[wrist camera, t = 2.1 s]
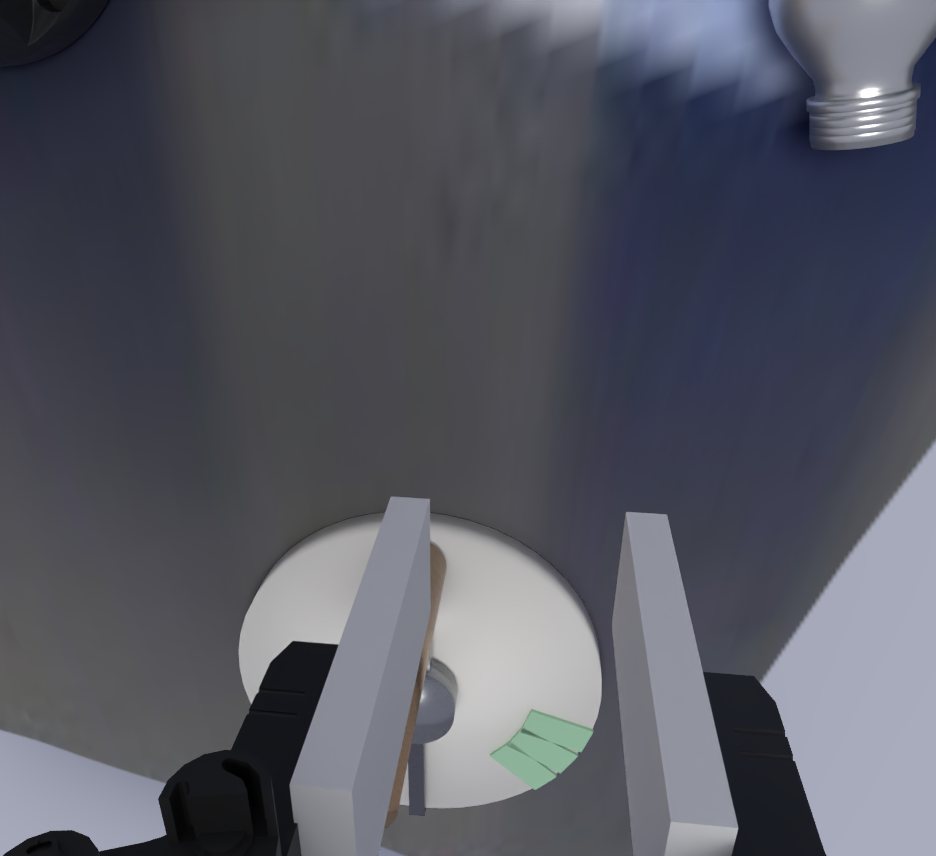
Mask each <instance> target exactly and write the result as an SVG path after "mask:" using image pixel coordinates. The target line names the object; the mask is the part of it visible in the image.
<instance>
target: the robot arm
mask: <svg viewBox="0 0 936 856" xmlns="http://www.w3.org/2000/svg"><path fill="white" fill-rule="evenodd" d="M107 2H108V0H0V67H7V66H17V65H23V64H28V63H32V62H36V61H39V60H42V59H45V58H47V57H49V56H52V55H54V54H56V53H58V52H59V51H61V50H63V49H65V48H66V47H67V46H69V45H70V44H72V43H73V42H74V41H76V40H77V39H78V38H79V37H80V36H82V35H83V34H84V33H85V32H86V31H87V30H88V29H89V28H90V26H91V25H92V24H93V23H94V22H95V20H96V19H97V18H98V16H99V15H100V13H101V12H102V11H103V9H104V8H105V6H106V4H107ZM430 612H431V590H430V499H421V498H406V497H391V498H390V500H389V503H388V506H387V509H386V512H385V515H384V517H383V520H382V523H381V526H380V529H379V532H378V535H377V537H376V540H375V543H374V546H373V549H372V552H371V554H370V557H369V560H368V563H367V566H366V569H365V571H364V574H363V577H362V580H361V583H360V586H359V589H358V591H357V594H356V597H355V600H354V603H353V606H352V608H351V611H350V614H349V617H348V620H347V623H346V625H345V628H344V631H343V634H342V637H341V640H340V643H339V644H326V643H314V642H302V641H292V642H291V643H290V644H289V645H288V646H287V647H286V648H285V649H284V650H283V651H282V652H281V653H280V654H279V655H277V656H276V657H275V658H274V659H273V660H272V661H271V662H270V664H269V667H268V669H267V671H266V673H265V675H264V678H263V680H262V682H261V684H260V687H259V692H258V693H256V695H255V698H254V700H253V702H252V704H251V707H250V709H249V714H248V715H247V716H246V718H245V720H244V722H243V724H242V727H241V729H240V731H239V733H238V736H237V738H236V740H235V742H234V744H233V747H232V749H231V750H223V751H218V752H213V753H209V754H204V755H202V756H200V757H198V758H197V759H195V760H193V761H191V762H189V763H187V764H185V765H184V766H183V767H181V768H180V769H179V770H178V771H177V772H176V773H175V774H174V775H173V776H172V777H171V778H170V779H169V780H168V781H167V783H166V785H165V787H164V789H163V791H162V793H161V795H160V796H159V799H158V800H159V804H160V808H161V812H162V817H163V821H164V825H165V829H166V834H167V835H165V836H163V837H161V838H157V839H154V840H151V841H147V842H144V843H139V844H134V845H129V846H124V847H119V848H115V849H109V850H105V851H100V852H99V851H98V849H97V848H96V847H95V845H94V844H93V842H92V841H91V840H90V838H89V837H87V836H85V835H83V834H80V833H78V832H75V831H72V830H70V831H69V830H67V831H49V832H47V833H44V834H41V835H38V836H35V837H32V838H29V839H27V840H25V841H24V842H22V843H21V844H19V845H17V846H16V847H14V848H13V849H11V850H10V851H8V852H7V853H5V854H4V855H3V856H378V854H379V849H380V845H381V840H382V835H383V831H384V826H385V821H386V817H387V812H388V807H389V803H390V798H391V793H392V789H393V784H394V779H395V775H396V770H397V765H398V761H399V756H400V752H401V747H402V742H403V738H404V733H405V728H406V724H407V719H408V714H409V710H410V705H411V700H412V696H413V691H414V686H415V682H416V677H417V672H418V668H419V663H420V658H421V654H422V649H423V644H424V640H425V635H426V630H427V626H428V621H429V616H430ZM612 631H613V642H614V652H615V663H616V674H617V684H618V695H619V705H620V716H621V727H622V737H623V748H624V758H625V769H626V780H627V790H628V801H629V811H630V822H631V833H632V843H633V854H634V856H826V854H825V852H824V849H823V846H822V843H821V840H820V837H819V834H818V831H817V828H816V825H815V821H814V818H813V815H812V812H811V809H810V806H809V803H808V800H807V797H806V794H805V791H804V788H803V785H802V782H801V779H800V776H799V772H798V769H797V766H796V763H795V761H793V754H792V751H791V748H790V745H789V742H788V739H787V737H785V730H784V726H783V724H782V720H781V717H780V714H779V711H778V708H777V705H776V702H775V701H774V700H773V699H772V697H771V696H770V695H769V694H768V693H767V691H766V690H765V689H764V688H763V687H762V685H761V684H760V683H759V682H758V681H757V679H756V678H755V677H754V676H745V675H733V674H720V673H708V672H703V671H702V667H701V662H700V658H699V653H698V649H697V645H696V640H695V636H694V632H693V627H692V623H691V618H690V614H689V610H688V605H687V601H686V597H685V592H684V588H683V583H682V579H681V575H680V570H679V566H678V562H677V557H676V553H675V548H674V544H673V540H672V535H671V531H670V527H669V522H668V518H667V515H665V514H650V513H635V512H626V515H625V524H624V532H623V540H622V548H621V556H620V564H619V572H618V580H617V588H616V596H615V604H614V612H613V620H612Z"/></svg>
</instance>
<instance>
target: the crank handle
mask: <svg viewBox="0 0 936 856" xmlns="http://www.w3.org/2000/svg"><path fill="white" fill-rule="evenodd" d="M446 569H447V566H446V560H445V558H444V556H443V554H442V553H441V551H440V550H439V549H438V548H437V547H436V546H434V545H433V544H431V543H430V590H431V612H430V616H429V621H428V626H427V630H426V635H425V640H424V644H423V649H422V654H421V658H420V663H419V668H418V672H417V677H416V682H415V686H414V691H413V696H412V700H411V705H410V710H409V714H408V719H407V724H406V728H405V733H404V738H403V742H402V747H401V752H400V756H399V761H398V765H397V770H396V775H395V779H394V784H393V789H392V793H391V798H390V803H389V807H388V812H387V817H386V821H385V826H384V828H386V827H388V826H389V825H390V824H391V823H392V822H393V821H394V820H395V818H396V816H397V813H398V809H399V804H400V799H401V794H402V789H403V784H404V779H405V774H406V769H407V764H408V781H409V815H419V816H425V811H426V794H425V743H429V742H433V741H436V740H438V739H440V738H441V737H443V736H444V735H445V734H446V733H447V732H448V731H449V730H450V729H451V727H452V725H453V721H454V715H455V708H456V701H457V694H458V687H457V683H456V680H455V678H454V676H453V675H452V674H451V672H450V671H449V670H448V669H447V668H446V667H444V666H443V665H442V664H440V663H438V662H437V661H435V660H432V640H433V635H434V630H435V625H436V620H437V615H438V610H439V605H440V600H441V595H442V590H443V585H444V580H445V575H446Z"/></svg>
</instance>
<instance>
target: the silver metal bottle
mask: <svg viewBox="0 0 936 856" xmlns="http://www.w3.org/2000/svg"><path fill="white" fill-rule="evenodd" d="M768 7H769V11H770V14H771V18H772V21H773V24H774V28H775V31H776V33H777V34H778V36H779V37H780V39H781V40H782V42H783V43H784V45H785V46H786V48H787V49H788V51H789V52H790V54H791V55H792V56H793V57H794V58H795V60H796V61H797V62H798V63H799V64H800V66H801V67H802V68H803V69H804V70H805V71H806V73H807V74H808V75H809V76H810V77H811V78H812V80H813V82H814V88H815V96H812V97H810V98H808V99H807V100H806V107H807V112H808V113H809V142H811V146H810V147H811V148H814V149H819V150H847V149H859V148H868V147H875V146H881V145H886V144H891V143H896V142H900V141H903V140H906V139H909V138H911V137H913V136H914V130H915V129H916V108H917V99H918V98H919V97H920V91H921V84H920V83H915V82H912V74H913V69H914V65H915V64H916V63H917V61H918V60H919V59H920V57H921V56H922V55H923V53H924V52H925V51H926V49H927V48H928V47H929V45H930V44H931V43H932V41H933V40H934V39H935V37H936V0H769V5H768Z"/></svg>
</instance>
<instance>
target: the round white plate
mask: <svg viewBox="0 0 936 856" xmlns="http://www.w3.org/2000/svg"><path fill="white" fill-rule="evenodd" d="M384 515H385V512H383V513H374V514H367V515H363V516H359V517H354V518H350V519H346V520H343V521H341V522H338V523H335V524H332V525H330V526H327V527H325V528H323V529H321V530H319V531H317V532H315V533H313V534H311V535H309V536H307V537H306V538H304V539H303V540H302V541H300V542H299V543H298V544H296V545H295V546H293V547H292V548H291V549H289V550H288V551H287V552H286V553H285V554H284V555H283V556H282V557H281V558H280V559H279V560H278V561H277V562H276V563H275V565H274V566H273V568H272V569H271V570H270V572H269V573H268V574H267V576H266V577H265V579H264V581H263V582H262V584H261V586H260V588H259V590H258V592H257V594H256V596H255V598H254V600H253V602H252V604H251V606H250V608H249V610H248V612H247V614H246V616H245V619H244V623H243V626H242V630H241V633H240V643H239V664H240V671H241V676H242V680H243V684H244V688H245V690H246V693H247V695H248V698H249V700H250V702H251V704H252V702H253V700H254V698H255V695H256V693H258V692H259V687H260V684H261V682H262V680H263V678H264V675H265V673H266V671H267V669H268V667H269V664H270V662H271V661H272V660H273V659H274V658H275V657H276V656H277V655H279V654H280V653H281V652H282V651H283V650H284V649H285V648H286V647H287V646H288V645H289V644H290V643H291V642H292V641H302V642H314V643H326V644H339V643H340V640H341V637H342V634H343V631H344V628H345V625H346V623H347V620H348V617H349V614H350V611H351V608H352V606H353V603H354V600H355V597H356V594H357V591H358V589H359V586H360V583H361V580H362V577H363V574H364V571H365V569H366V566H367V563H368V560H369V557H370V554H371V552H372V549H373V546H374V543H375V540H376V537H377V535H378V532H379V529H380V526H381V523H382V520H383V517H384ZM430 543H431V544H433V545H434V546H436V547H437V548H438V549H439V550H440V551H441V553H442V554H443V556H444V558H445V560H446V566H447V569H446V575H445V580H444V585H443V590H442V595H441V600H440V605H439V610H438V615H437V620H436V625H435V630H434V635H433V640H432V660H435V661H437V662H438V663H440V664H442V665H443V666H444V667H446V668H447V669H448V670H449V671H450V672H451V674H452V675H453V676H454V678H455V680H456V683H457V687H458V694H457V701H456V708H455V715H454V721H453V725H452V727H451V729H450V730H449V731H448V732H447V733H446V734H445V735H444V736H443V737H441V738H440V739H438V740H436V741H433V742H429V743H425V794H426V807H427V808H459V807H469V806H476V805H483V804H488V803H492V802H496V801H500V800H504V799H507V798H510V797H512V796H515V795H518V794H521V793H523V792H525V791H527V790H529V789H531V788H533V789H534V790H536V789H538V788H539V787H541V786H543V785H544V784H546V783H547V782H549V781H551V780H552V779H554V778H555V777H557V774H556V773H557V772H559V773H562V772H563V771H564V770H565V769H566V768H567V767H568V766H569V765H570V764H571V763H572V762H573V761H574V760H575V759H576V758H577V757H578V752H582V750H583V749H584V747H585V745H586V744H587V742H588V740H589V739H590V737H591V735H592V734H593V726H594V724H595V721H596V719H597V716H598V712H599V707H600V702H601V690H602V677H601V663H600V653H599V646H598V639H597V635H596V632H595V629H594V626H593V623H592V620H591V618H590V616H589V614H588V612H587V610H586V608H585V606H584V604H583V602H582V600H581V599H580V598H579V596H578V595H577V593H576V592H575V590H574V589H573V588H572V586H571V585H570V584H569V583H568V581H567V580H566V579H565V578H564V577H563V576H562V575H561V574H560V573H559V572H558V571H557V570H556V569H555V568H554V567H553V566H552V565H551V564H550V563H548V562H547V561H546V560H545V559H544V558H542V557H541V556H540V555H539V554H537V553H536V552H534V551H533V550H531V549H530V548H528V547H527V546H525V545H524V544H522V543H520V542H519V541H517V540H515V539H513V538H511V537H509V536H507V535H505V534H503V533H501V532H499V531H497V530H495V529H493V528H490V527H487V526H484V525H481V524H478V523H476V522H473V521H470V520H466V519H461V518H457V517H453V516H449V515H444V514H436V513H430ZM400 804H401V805H408V806H409V781H408V764H407V769H406V774H405V779H404V784H403V789H402V794H401V799H400Z"/></svg>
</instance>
